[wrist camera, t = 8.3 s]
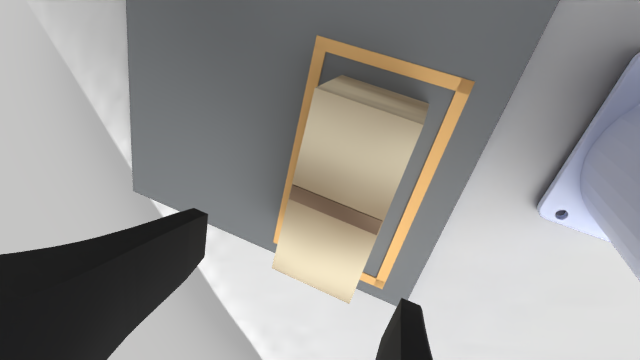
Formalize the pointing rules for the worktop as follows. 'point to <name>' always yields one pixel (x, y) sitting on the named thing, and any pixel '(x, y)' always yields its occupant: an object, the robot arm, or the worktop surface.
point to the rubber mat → (296, 96)
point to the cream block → (345, 181)
